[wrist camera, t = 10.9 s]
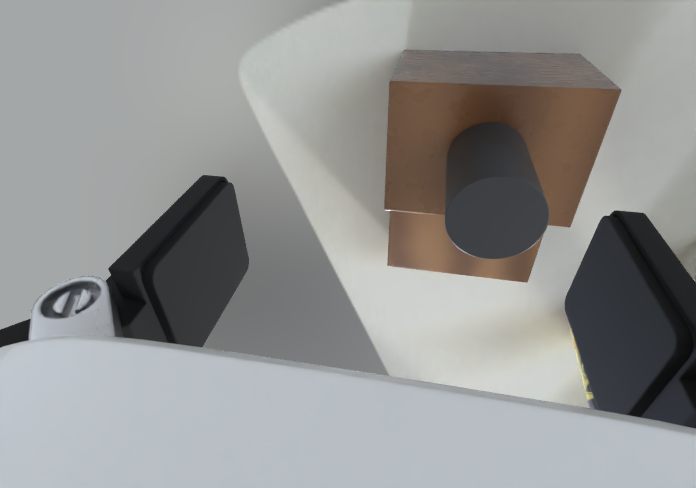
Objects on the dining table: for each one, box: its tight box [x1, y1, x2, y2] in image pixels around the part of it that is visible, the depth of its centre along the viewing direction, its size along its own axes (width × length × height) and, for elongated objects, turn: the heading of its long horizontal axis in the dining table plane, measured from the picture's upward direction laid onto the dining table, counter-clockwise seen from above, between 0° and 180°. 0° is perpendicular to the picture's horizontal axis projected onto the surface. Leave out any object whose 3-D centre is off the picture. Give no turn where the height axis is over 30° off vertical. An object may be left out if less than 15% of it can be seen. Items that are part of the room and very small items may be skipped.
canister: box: [445, 122, 549, 259], centre depth 25 cm, size 5×5×8 cm
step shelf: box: [384, 50, 621, 283], centre depth 35 cm, size 14×20×10 cm
